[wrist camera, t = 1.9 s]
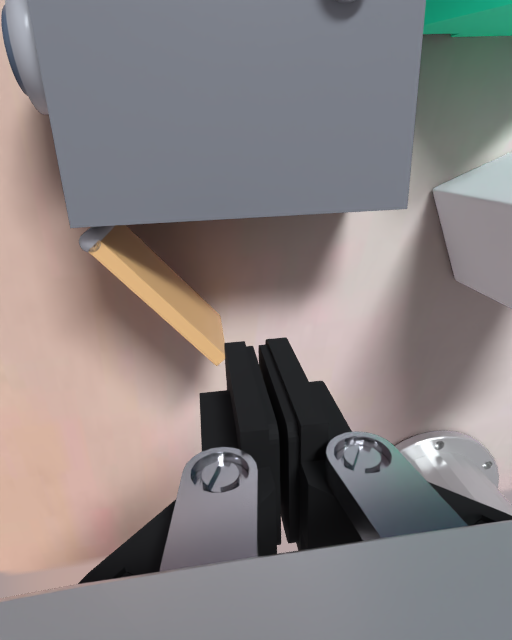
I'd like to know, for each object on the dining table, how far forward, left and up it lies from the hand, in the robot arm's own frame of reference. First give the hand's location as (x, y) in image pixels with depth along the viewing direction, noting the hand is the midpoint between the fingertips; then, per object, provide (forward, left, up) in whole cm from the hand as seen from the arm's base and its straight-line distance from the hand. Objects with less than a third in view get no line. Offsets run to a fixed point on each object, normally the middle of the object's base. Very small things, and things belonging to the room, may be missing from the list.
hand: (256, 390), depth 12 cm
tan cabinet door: (-1, +4, -18) cm, 19 cm away
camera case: (+9, -1, -19) cm, 21 cm away
